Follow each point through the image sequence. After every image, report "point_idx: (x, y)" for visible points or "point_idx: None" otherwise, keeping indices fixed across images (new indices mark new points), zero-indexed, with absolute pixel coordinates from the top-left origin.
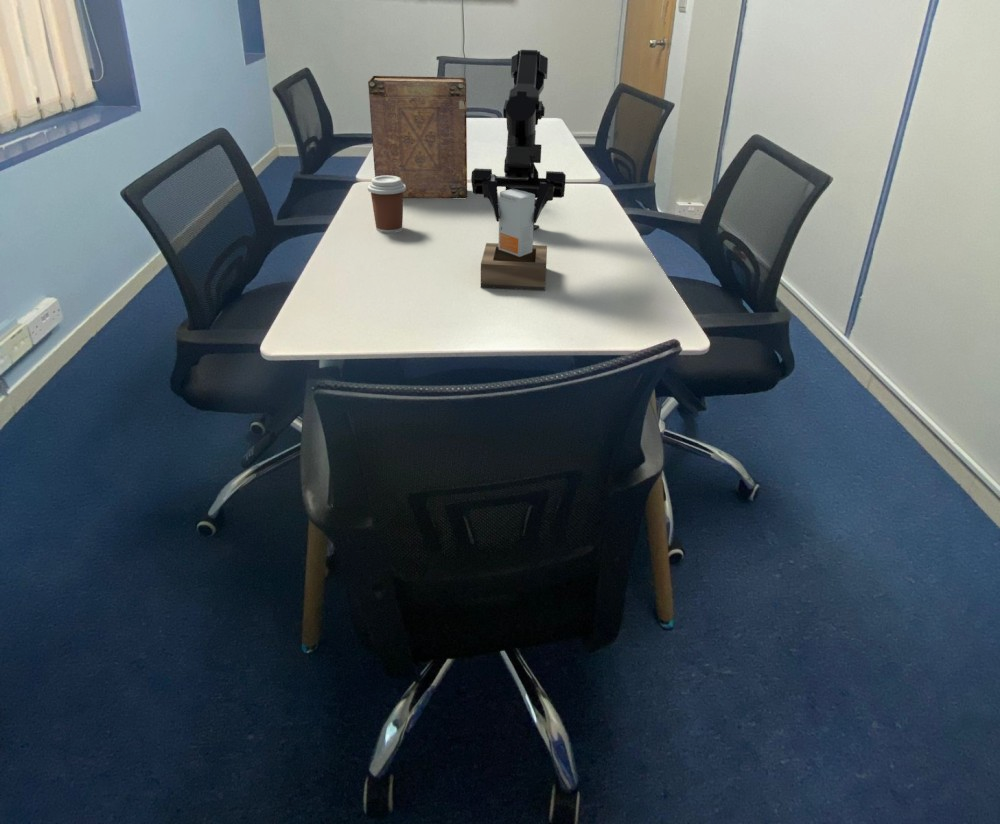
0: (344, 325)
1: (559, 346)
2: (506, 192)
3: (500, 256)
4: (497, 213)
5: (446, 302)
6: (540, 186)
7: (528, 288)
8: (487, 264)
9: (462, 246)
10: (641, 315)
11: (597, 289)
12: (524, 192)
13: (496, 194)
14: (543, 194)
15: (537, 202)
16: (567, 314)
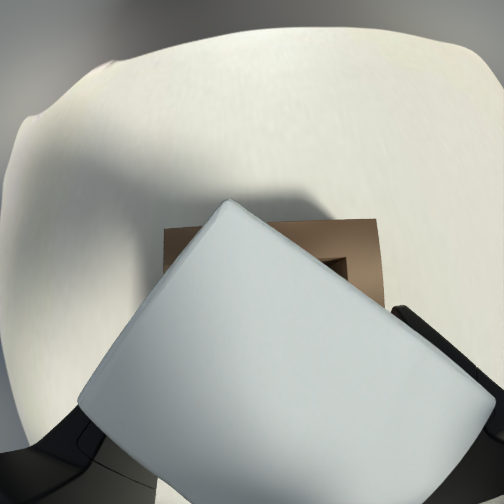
0: (468, 85)
1: (177, 46)
2: (446, 415)
3: None
4: (416, 325)
5: (396, 148)
6: (21, 490)
7: None
8: (356, 219)
9: None
10: (42, 169)
11: (77, 275)
12: (207, 475)
13: (489, 423)
14: (45, 452)
15: None
16: (147, 133)
